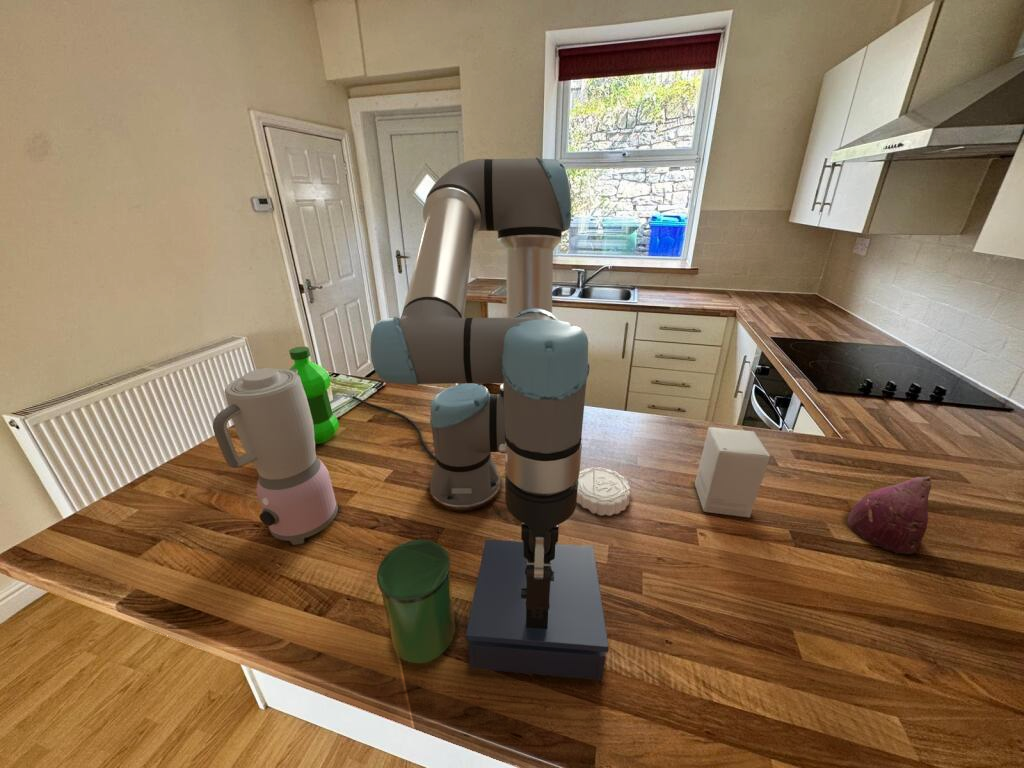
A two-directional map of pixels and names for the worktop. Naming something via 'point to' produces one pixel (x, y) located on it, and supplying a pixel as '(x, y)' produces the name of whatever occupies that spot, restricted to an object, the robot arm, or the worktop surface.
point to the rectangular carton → (731, 471)
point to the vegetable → (893, 515)
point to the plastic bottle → (315, 393)
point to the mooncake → (603, 491)
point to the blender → (278, 451)
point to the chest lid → (570, 599)
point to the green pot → (418, 599)
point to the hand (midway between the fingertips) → (536, 622)
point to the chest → (536, 659)
